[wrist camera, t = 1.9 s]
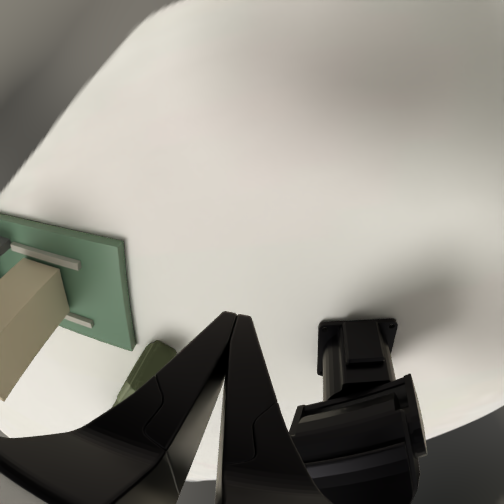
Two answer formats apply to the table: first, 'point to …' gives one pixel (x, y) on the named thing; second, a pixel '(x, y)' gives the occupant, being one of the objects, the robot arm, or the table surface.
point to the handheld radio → (146, 368)
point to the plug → (27, 316)
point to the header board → (77, 275)
